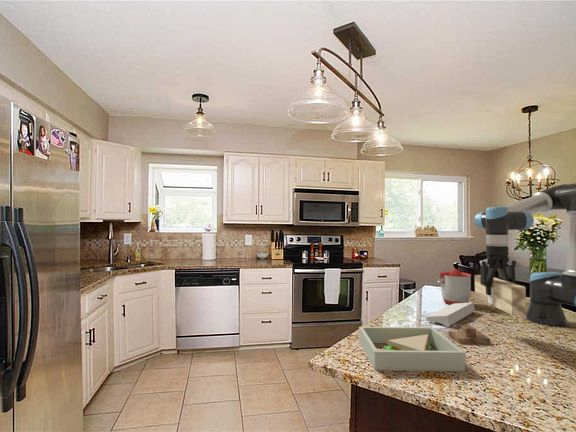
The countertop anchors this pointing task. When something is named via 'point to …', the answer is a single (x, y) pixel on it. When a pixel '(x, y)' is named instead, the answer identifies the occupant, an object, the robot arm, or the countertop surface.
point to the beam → (503, 296)
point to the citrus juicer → (455, 286)
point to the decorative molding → (451, 313)
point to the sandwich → (409, 343)
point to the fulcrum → (469, 336)
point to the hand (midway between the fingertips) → (498, 303)
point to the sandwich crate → (440, 360)
